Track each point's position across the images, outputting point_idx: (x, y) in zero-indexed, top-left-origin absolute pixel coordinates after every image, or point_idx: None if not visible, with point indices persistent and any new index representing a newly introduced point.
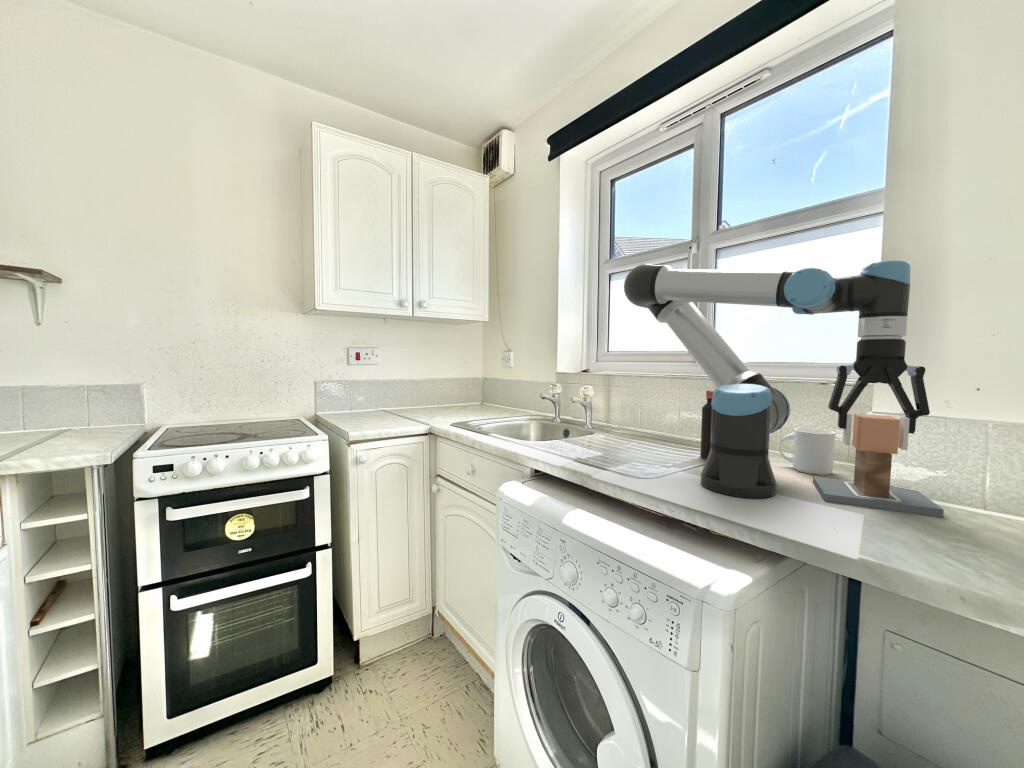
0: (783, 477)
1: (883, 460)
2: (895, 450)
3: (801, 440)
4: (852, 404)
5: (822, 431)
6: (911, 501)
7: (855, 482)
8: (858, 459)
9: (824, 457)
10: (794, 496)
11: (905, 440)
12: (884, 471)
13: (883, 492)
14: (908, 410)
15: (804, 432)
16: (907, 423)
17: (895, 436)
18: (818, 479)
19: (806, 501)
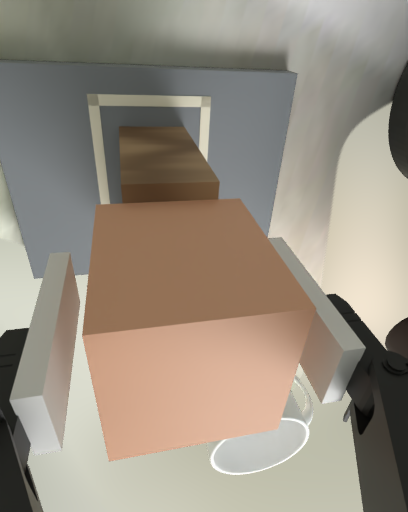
0: (311, 260)
1: (150, 171)
2: (104, 211)
3: (290, 395)
4: (390, 426)
5: (229, 466)
6: (59, 120)
7: None
8: None
9: None
10: (355, 78)
11: (53, 283)
12: (140, 153)
13: (134, 130)
14: (4, 469)
15: (297, 417)
16: (30, 363)
17: (107, 253)
18: None
19: (341, 35)
